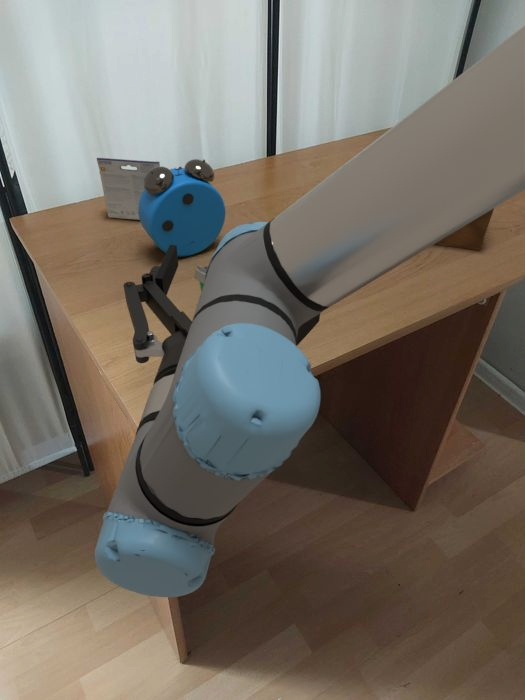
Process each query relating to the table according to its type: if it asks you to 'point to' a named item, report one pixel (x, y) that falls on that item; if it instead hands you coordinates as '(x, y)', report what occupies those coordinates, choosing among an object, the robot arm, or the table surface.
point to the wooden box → (469, 234)
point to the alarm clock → (182, 207)
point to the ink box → (123, 185)
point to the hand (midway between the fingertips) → (233, 259)
